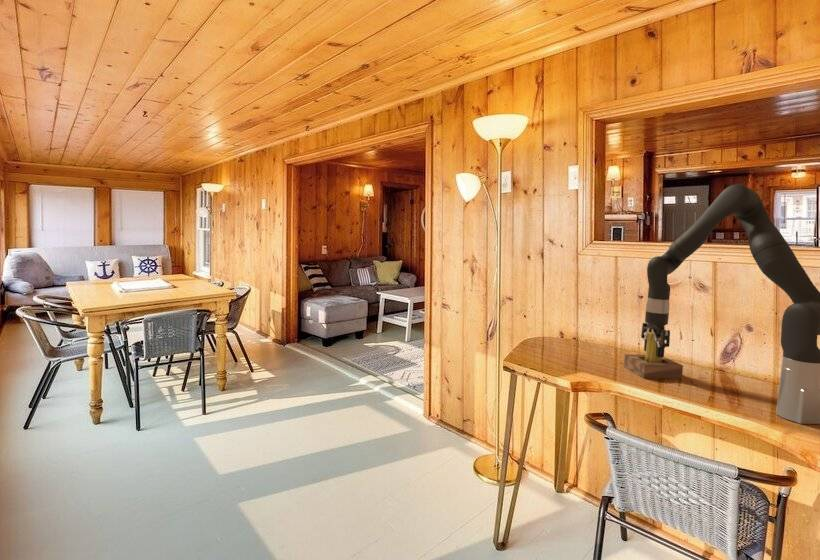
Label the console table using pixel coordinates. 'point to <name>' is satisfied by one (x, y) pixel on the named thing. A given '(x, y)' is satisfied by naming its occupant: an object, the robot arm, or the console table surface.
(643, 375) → the bore block
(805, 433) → the console table surface
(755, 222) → the robot arm
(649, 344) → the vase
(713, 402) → the console table surface
